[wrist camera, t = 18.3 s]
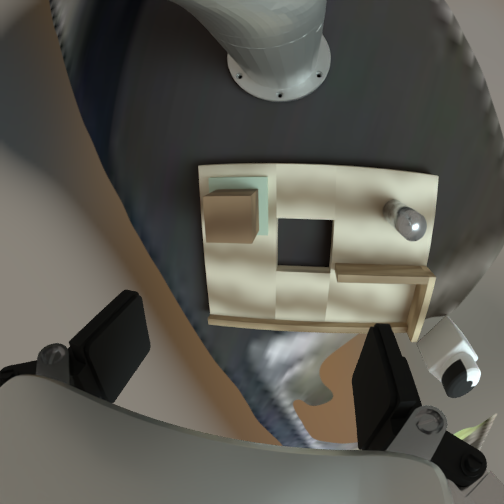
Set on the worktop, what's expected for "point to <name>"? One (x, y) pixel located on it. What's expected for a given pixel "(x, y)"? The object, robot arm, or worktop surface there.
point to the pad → (247, 183)
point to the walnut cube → (231, 216)
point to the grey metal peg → (405, 220)
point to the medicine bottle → (450, 358)
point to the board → (341, 256)
